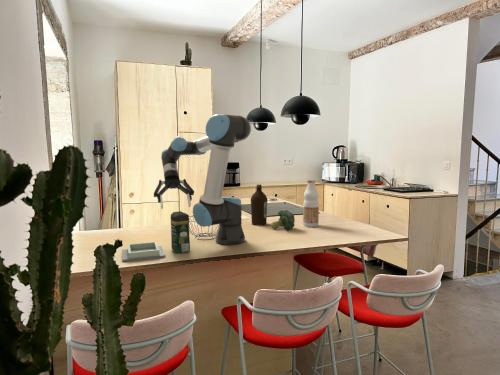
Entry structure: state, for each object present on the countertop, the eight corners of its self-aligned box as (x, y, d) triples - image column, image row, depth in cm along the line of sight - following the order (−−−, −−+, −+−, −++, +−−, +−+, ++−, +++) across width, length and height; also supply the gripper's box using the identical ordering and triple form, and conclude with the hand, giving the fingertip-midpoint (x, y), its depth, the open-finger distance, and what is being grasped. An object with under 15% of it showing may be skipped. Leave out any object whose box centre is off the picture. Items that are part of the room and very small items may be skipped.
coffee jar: (169, 249, 171) (168, 211, 168) (185, 247, 174) (184, 209, 172) (175, 254, 162) (174, 214, 160) (192, 252, 166) (191, 212, 164)
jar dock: (161, 247, 173) (161, 240, 173) (165, 257, 158) (165, 249, 158) (122, 251, 167) (122, 244, 167) (122, 262, 152) (122, 254, 152)
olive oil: (249, 225, 221) (249, 185, 219) (252, 221, 232) (252, 183, 229) (266, 226, 220) (266, 185, 217) (268, 222, 230) (268, 184, 227)
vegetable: (272, 222, 220) (294, 212, 217) (278, 239, 213) (301, 229, 210) (265, 213, 211) (288, 203, 208) (270, 231, 203) (294, 221, 200)
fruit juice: (302, 227, 216) (303, 181, 213) (303, 223, 226) (303, 179, 222) (318, 227, 215) (319, 181, 212) (318, 224, 224) (319, 179, 221)
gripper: (193, 177, 195) (200, 209, 183) (146, 179, 187) (149, 212, 175) (195, 168, 190) (202, 200, 177) (146, 169, 181) (150, 203, 169)
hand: (176, 206), depth 176 cm, fingers open, 13 cm apart
